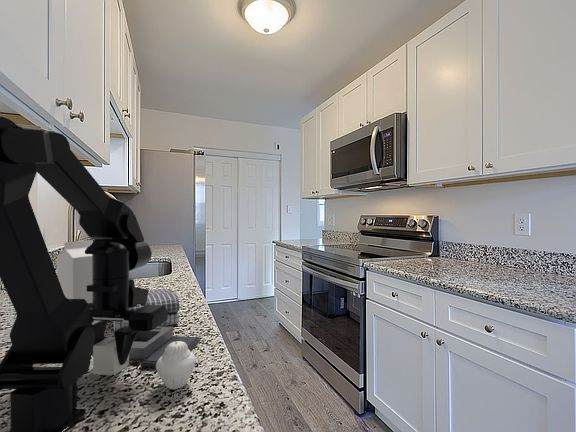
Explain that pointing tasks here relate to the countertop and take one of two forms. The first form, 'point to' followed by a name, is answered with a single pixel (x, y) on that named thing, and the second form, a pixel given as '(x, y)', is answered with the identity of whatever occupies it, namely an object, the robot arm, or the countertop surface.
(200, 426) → the countertop surface
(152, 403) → the countertop surface
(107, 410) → the countertop surface
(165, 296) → the towel
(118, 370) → the block
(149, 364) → the phone
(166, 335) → the grey tray
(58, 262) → the milk
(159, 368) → the white ribbed lump
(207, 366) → the countertop surface
